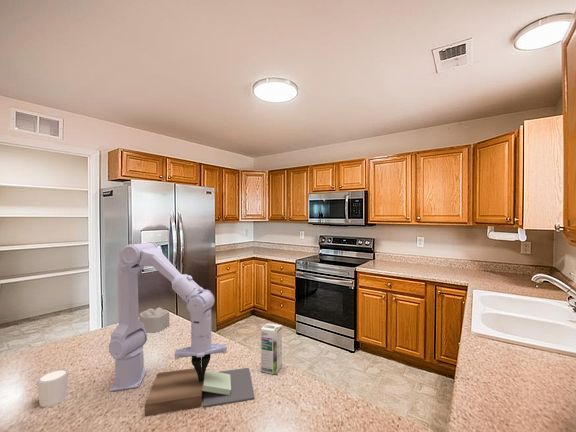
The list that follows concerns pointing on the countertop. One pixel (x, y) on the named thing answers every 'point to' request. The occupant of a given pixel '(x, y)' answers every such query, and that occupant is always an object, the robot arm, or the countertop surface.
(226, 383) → the coaster
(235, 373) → the rubber mat
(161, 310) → the lumpy-topped squat cylinder
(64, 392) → the white cylinder
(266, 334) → the syrup box
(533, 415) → the countertop surface
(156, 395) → the walnut board
